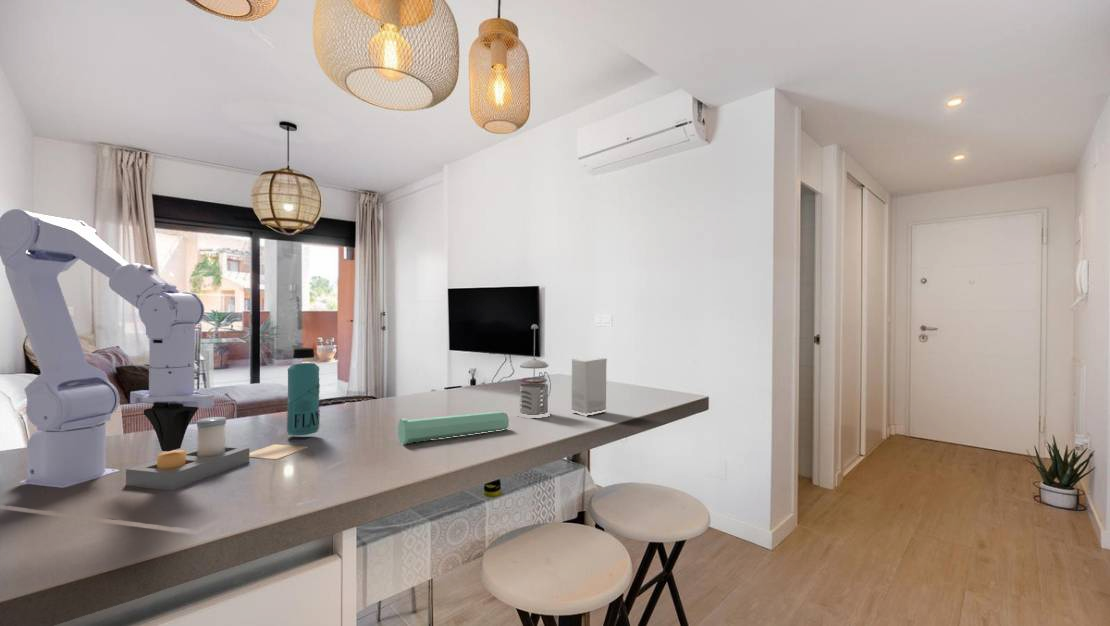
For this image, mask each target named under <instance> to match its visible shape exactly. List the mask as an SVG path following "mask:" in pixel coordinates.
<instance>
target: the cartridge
mask: <svg viewBox="0 0 1110 626" xmlns="http://www.w3.org/2000/svg"><path fill="white" fill-rule="evenodd" d="M226 423H227V417H225V416H212V417H205V418H204V417H203V418H201V419H197V420H196V427H197V428H196V429H197V432H196V433H197V437H196V438H197V441H196V442H197V444H196V445H197V446H196V448H197V456H199V457H213V456H216V455H219V454H222V453H225V446H226Z"/></svg>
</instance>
